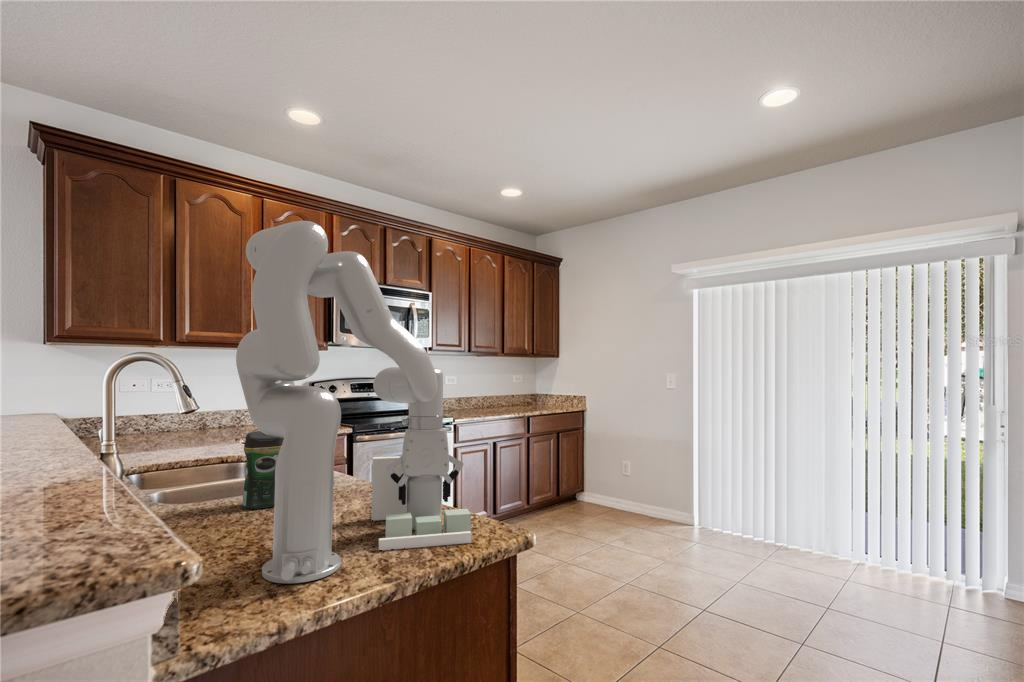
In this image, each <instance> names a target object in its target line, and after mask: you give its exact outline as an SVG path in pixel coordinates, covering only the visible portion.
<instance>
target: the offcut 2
mask: <svg viewBox="0 0 1024 682" xmlns="http://www.w3.org/2000/svg"><path fill="white" fill-rule="evenodd" d="M471 522H472V513H471V512H470V510H469V509H468V508H459V509H458V508H455V509H444V510H443V533H453V532H466V531H471V530H472V529H471V528H472V526H471V525H472V523H471ZM471 532H472V531H471Z"/></svg>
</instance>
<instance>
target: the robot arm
mask: <svg viewBox="0 0 1024 682" xmlns="http://www.w3.org/2000/svg"><path fill="white" fill-rule="evenodd" d="M328 250H329V240H328V235H327V233H326V231H325V229H323V227H322V226H321V225H319V224H318V223H315V222H313V221H310V220H298V221H291V222H288V223H287V222H286V223H283V224H280V225H277V226H273V227H269V228H264V229H262V230H259V231H257V232H255V233H254V234H253V235H252V236H250V238H249V239H248V241H247V243H246V247H245V255H246V259H247V260H248V263H249V264H250V266H251V267H252V268H253V269H254V271H255V275H254V278H253V282H252V287H251V301H252V307H253V313H254V317H255V324H256V329H253V330H251V331H249V332H248V333H247V334H245V335H244V336H243V337H242V339H241V340H240V341H239V343H238V345H237V349H236V356H235V362H236V363H235V364H236V369H237V373H238V378H239V381H240V382H239V383H240V385H241V388H242V389H241V390H242V392H243V396H244V400H245V403H246V407H247V409H248V413H249V417H250V419H251V421H252V423H253V424H254V426H255V428H257V430H258V431H261V432H262V433H264V434H266V435H270V436H274V437H280V438H284V440H283V443H282V446H281V449H280V451H279V454H278V457H277V462H276V468H275V501H274V506H273V512H274V513H273V535H272V537H273V539H272V544H273V545H272V558H271V559H269V560H268V561H266V562H265V563H264V564H263V566H262V567H261V576H262V577H263V579H265V580H266V581H268V582H271V583H274V584H275V583H276V584H284V585H285V584H301V583H308V582H312V581H317V580H320V579H323V578H325V577H328V576H330V575H332V574H333V573H335V572H336V571H338V569H340V567H341V564H342V563H341V561H342V559H341V556H340V555H339V554H337V553H336V552H333V520H334V519H333V515H334V479H335V477H334V474H335V473H334V472H335V471H334V470H335V453H336V444H337V439H338V434H339V430H340V426H341V421H342V409H341V408H342V407H341V406H340V402H339V400H338V399H337V398H336V395H334V394H333V393H332V392H330V391H329V390H327V389H325V388H322V387H319V386H314V385H313V386H312V385H295V382H298V381H302V380H306V379H307V378H310V377H312V376H313V375H314V374H315V373H316V372H317V371H318V368H319V365H320V363H321V362H320V361H321V359H320V350H319V345H318V342H317V337H316V334H315V333H316V332H315V328H314V324H313V320H312V316H311V312H310V307H309V301H308V295H310V296H312V297H316V298H322V299H323V298H334V299H335V301H336V303H337V306H338V307H339V309H340V310H341V313H342V315H343V317H344V319H345V321H346V323H347V325H348V326H349V329H350V331H351V333H352V335H353V336H354V337H355V338H356V339H357V340H358V341H361V342H362V343H364V344H366V345H367V346H369V347H372V348H374V349H376V350H378V351H380V352H381V353H384V354H385V355H387V357H389V358H390V359H391V360H393V362H394V363H395V364H396V365H397V366H398V367H397V366H396V367H395V366H393V367H387V368H383V369H382V370H380V371H379V372H377V374H376V376H375V377H374V380H373V382H372V384H373V385H372V387H373V392H374V393H375V395H376V396H377V397H378V398H379V399H380V400H382V401H384V402H387V403H388V402H389V403H396V404H397V403H398V404H408V417H406V418H402V419H401V425H402V426H407V427H408V429H405V431H404V435H403V442H402V452H401V455H400V456H401V457H399V458H397V459H396V460H394V461H392V462H391V463H389V464H388V465H386V470H387V472H388V473H389V475H390V477H391V478H392V479H393V480H394V481H395V482H396V483H397V484H398V485H399V496H398V498H399V500H401V502H402V505H405V504H406V486H405V482H406V481H407V479H408V478H409V477H419V476H420V475H434V476H442V478H443V479H444V480H443V481H442V501H444V502H445V503H448V502H449V498H450V497H451V489H452V488H451V484H452V483H453V481H454V480H455V479H456V478H457V477H458V476H459V473H460V472H461V470H462V469H463V467H464V462H462V461H461V460H459V459H457V458H456V457H454V456H453V455H451V454H450V451H449V440H448V433H447V429H445V428H443V427H444V426H443V423H444V422H443V421H444V420H443V419H444V418H443V416H444V415H443V414H444V373H443V371H442V370H441V369H439V368H434V366H433V363H432V360H431V358H430V355H429V354H428V352H427V351H426V349H425V347H424V346H423V344H422V343H421V342H420V341H419V340H418V339H417V338H416V337H415V336H414V335H413V334H412V333H411V332H410V331H409V330H407V328H405V327H404V326H403V325H402V324H400V323H399V321H397V320H396V319H395V318H394V316H393V315H392V313H391V310H390V308H389V306H388V304H387V302H386V299H385V297H384V295H383V292H382V291H381V289H380V286H379V283H378V281H377V279H376V277H375V275H374V272H373V270H372V268H371V266H370V264H369V262H368V260H367V259H366V257H364V256H363V255H362V254H360V253H359V252H357V251H351V250H350V251H349V250H347V251H346V250H344V251H336V252H331V253H328ZM401 463H402V471H403V473H402V474H401V476H400V477H399V476H398V475H397V474H396V473H395V472H394V468H395V467H397V466H398V465H400V464H401ZM450 463H451V464H453V465H455V466H454V468H453V469H452V471H450V472H449V470H450Z"/></svg>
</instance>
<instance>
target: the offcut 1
mask: <svg viewBox="0 0 1024 682" xmlns="http://www.w3.org/2000/svg"><path fill="white" fill-rule="evenodd" d="M404 536H413V529H412V516H411V512H409V513H395V514H386V520H385V535H384V538H391V537H404Z"/></svg>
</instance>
